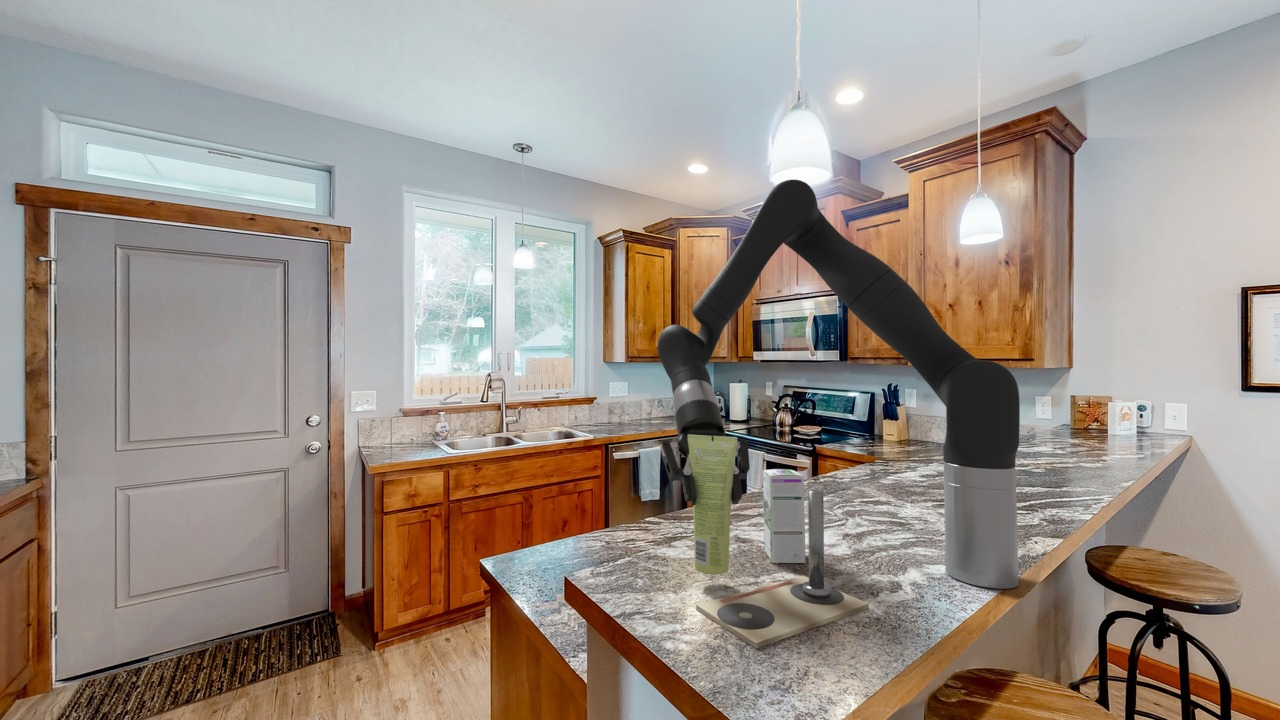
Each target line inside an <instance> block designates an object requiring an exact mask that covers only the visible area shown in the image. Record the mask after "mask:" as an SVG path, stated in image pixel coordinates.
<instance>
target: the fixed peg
mask: <svg viewBox="0 0 1280 720" xmlns="http://www.w3.org/2000/svg"><path fill="white" fill-rule="evenodd" d="M807 493H808V495H807V496H808V497H807V500H808V501H807V502H808V505H807V506H808V508H807V509H808V510H807V511H808V513H807V514H808V519H807V520H808V524H807V526H808V578H809V581H807V582H804V583H803V593H804V594H805V595H806V596H808V597H810V598H814V599H828V598H830V596H831V588H832V587H831V586H830V585H829V584H827V583H825V529H824V528H825V522H824V521H825V520H824V519H825V515H824V512H825V511H824V509H825V508H824V505H825V504H824V502H825V501H824V491H823V490H821V489H816V488H815V489H812V488H811V489H808V491H807ZM830 587H831V588H830Z"/></svg>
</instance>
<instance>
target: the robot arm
mask: <svg viewBox="0 0 1280 720" xmlns="http://www.w3.org/2000/svg"><path fill="white" fill-rule="evenodd" d="M783 244H784V245H785V246H787V247H788V248H789V249H790V250H792V251H793V252H795V253H796V254H797V255H799V256H800V258H802V259H803V260H804V261H805V262H807V263H808V264H809V265H810V266H811V267H812V269H814V270H815V271H816V273H817V274H818V276H820V278H821V279H822V280H823V282H824V283H825V284H826V285H827V286H828V287H829V289H830V290H831V291H832V292H833V294H835V296H836V297H837V298H838V299H839V300H840V301H841V302H842V303H843V304H844V306H845V307H847V309H848V310H850V311H851V313H852V314H854V316H856V317H857V319H859V321H861V322H862V323H863V324H864V325H865V326H866V327H867V328H868V329H870V331H871V332H873V333H874V334H875V335H876V336H877V337H878V338H879V339H881V341H883V342H885V344H886V345H888V346H889V347H890V348H891V349H893V350H894V351H895V352H897V353H898V354H899V355H900V356H901V357H903V358H904V359H905V360H906V361H907V362H908V363H909V364H910V365H911V366H912V367H913V368H914V369H915V370H916V372H917V373H918V374H919V375H920V376H921V377H922V379H923V380H924V381H925V382H926V383H927V384H928V386H929V387H930V388H931V389H932V391H933V392H934V393H935V395H936V396H937V397H938V398H939V400H940V401H941V402H942V404H943V405H944V406H945V407H946V408H945V409H946V410H945V411H946V412H945V413H946V414H945V415H946V416H945V417H946V418H945V419H946V429H945V430H946V434H945V439H944V443H943V449H942V452H943V453H942V454H943V455H942V457H943V460H942V461H943V495H944V496H943V497H944V498H943V499H944V500H943V501H944V502H943V503H944V504H943V505H944V549H945V550H944V551H945V552H944V556H945V559H944V560H945V563H944V564H945V572H946V574H947V575H949V576H950V577H951V578H954V579H956V580H959V581H961V582H964V583H966V584H969V585H970V584H971V585H974V586H978V587H984V588H990V589H999V590H1001V589H1002V590H1005V589H1013V588H1016V587H1018V586H1019V550H1018V549H1019V548H1018V514H1017V513H1018V510H1017V480H1016V479H1017V477H1016V474H1017V473H1016V456H1017V452H1018V449H1019V448H1020V447H1019V446H1020V423H1021V422H1020V419H1021V415H1020V407H1021V406H1020V401H1021V400H1020V391H1019V385H1018V382H1017V380H1016V378H1015V376H1014V375H1013V373H1012V372H1011V371H1010V370H1009V369H1008V368H1007V367H1005V366H1004V365H1002V364H1000V363H999V362H998V363H997V362H995V361H991V360H988V359H987V360H985V359H984V360H983V359H978V358H977V357H975V356H973V355H972V353H970V352H969V351H967V350H966V349H964V348H963V347H962V346H961V345H960V344H959V343H957V341H955V340H954V339H952V337H950V336H949V335H948V333H947V332H946V331H945V330H943V328H942V327H941V325H940V324H939V322H938V321H937V320H936V318H935V317H934V315H933V314H932V312H931V311H930V310H929V308H928V306H926V304H925V303H924V301H923V300H922V298H921V297H920V295H918V293H917V292H916V291H915V290H914V289H913V288H912V287H911V285H910V284H909V283H908V282H906V281H905V280H904V278H902V277H901V276H900V275H899V274H898V273H897V272H896V271H895V270H893V268H891V266H889V265H888V264H886V263H885V262H884V261H883V260H881V259H880V258H878V257H877V256H875V255H874V254H872V253H870V252H868V251H867V250H865V249H863V248H861V247H859V246H858V245H856V244H854V243H852V242H851V241H850V240H848V239H847V238H846V237H844V236H843V235H842V234H841V233H840V232H839V231H838V230H837V229H836V228H835V227H834V226H833V225H832V224H831V223H830V221H828V219H827V218H826V217H825V215H824V214H823V213H822V212H821V210H820V209H819V207H818V200H817V196H816V194H815V192H814V190H813V188H812V187H811V186H810V185H809V183H806V181H803V180H800V179H787V180H783V181H781V182H779V183H778V184H776V185H775V186H774V187H773V188H772V189H771V190H770V191H768V193H767V195H766V197H765V199H764V200H763V202H762V204H761V206H760V207H759V210H758V211H757V212H756V215H755V217H754V218H753V221H752V222H751V224H750V225H749V227H748V230H747V231H746V232H745V234H744V236H743V238H742V239H741V241H740V242H739V244H738V245H737V247H736V249H735V250H734V252H733V253H732V255H731V257H730V258H729V259H728V261H727V262H726V263H725V264H724V266H723V268H721V270H720V272H719V273H718V274H717V275H716V277H715V278H714V280H713V281H711V283H710V285H708V287H707V288H706V290H705V291H704V292H703V293H702V294H701V296H700V298H699V299H698V300H697V301H696V303H695V304H694V306H693V308H692V309H691V310H692V311H691V313H692V316H693V317H694V319H695V320H696V321H697V322H698V323H699V324H700V327H699V331H698V334H695V333H694V332H692V331H691V330H690V329H688V328H687V327H686V326H684V325H680V324H672V325H668V326H666V327H665V328H664V329H663V330H662V331H661V333H660V334H659V336H658V340H657V346H656V347H657V354H658V357H659V360H660V362H661V364H662V366H663V368H664V371H665V372H666V374H667V376H668V378H669V380H670V383H671V390H672V396H673V401H672V402H673V416H674V418H675V423H676V424H675V425H676V429H677V431H676V432H677V436H678V437H677V438H678V439H677V441H675V442H670V440H668V439H664V440H662V442H661V449H660V455H661V458H662V460H663V464H664V467H665V469H666V470H665V471H666V473H667V475H668V478H669V480H670V481H672V482H675V481H679V482H681V485H682V490H683V495H684V500H685V502H689V505H690V506H693V505H695V504H696V500H697V495H696V489H695V483H694V478H693V476H691V473H692V469H691V464H690V453H689V446H688V434H689V435H704V436H721V437H728V436H727V435H726V431H725V426H724V422H723V419H722V414H721V411H720V405H719V403H718V399H717V397H716V396H717V395H716V394H715V392H714V388H713V385H712V380H711V375H710V374H709V371H708V369H707V367H706V366H707V365H708V363H709V362H710V360H711V359H712V356H713V354H714V352H715V349H716V347H717V344H718V342H719V340H720V338H721V336H722V333H723V332H724V331H723V330H724V329H725V327H726V326H727V325H728V324H729V322H730V321H731V319H732V318H733V317H734V315H736V313H737V312H738V310H739V309H740V308H741V307H742V305H743V304H744V303H745V301H746V300H747V298H748V297H749V295H750V294H751V292H752V290H753V288H754V286H755V285H756V283H757V282H758V281H757V280H758V279H759V277H760V275H761V273H762V272H763V270H764V269H765V267H766V265H767V263H768V262H769V261H770V260H771V258H772V257H773V256H774V254H775V253H776V252H777V251H778V249H779V248H780V247H781V246H782V245H783ZM677 451H678V452H679V453H680V454H681V455H682V456H683V457H684V458H685V459H686V463H685V465H684V468H680V467H679V464H678V462H677V458H676V453H677ZM735 458H737V466H736V465H735V464H734V471H733V483H732V497H731V505H738V504H739V502H740V501H742V500H741V499H742V497H743V493H744V492H743V488H742V483H741V481H742V480H746V479H747V477H748V473H749V472H750V467H751V466H750V454H749V442H748V440H747V439H746V438H742V439H740V441H737V446H736V452H735Z"/></svg>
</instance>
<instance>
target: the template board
mask: <svg viewBox="0 0 1280 720" xmlns="http://www.w3.org/2000/svg"><path fill="white" fill-rule="evenodd" d="M807 581H809V576H804V575H798V576H796V577H792V578H789V579H785V580H780V581H778V582H774V583H770V584H766V585H764V586H759V587H755V588H752V589H749V590H745V591H741V592H738V593H734V594H731V595H726V596H723V597H719V598H716V599H712V600H708V601H704V602H701V603H697V604H695V609H696V611H698V612H700V613H701V614H703V615H704V616H705V617H707V618H708V619H710V620H712V621H713V622H715V623H716V624H718V625H719V626H721V627H722V628H724V629H726V630H727V631H729V632H730V633H732V634H733V635H734V636H736V637H737V638H739V639H740V640H742V641H744V642H745V643H747V644H749V646H751V647H753V648H754V649H758V648H762V647H764V646H767V645H770V644H773V643H776V642H778V641H779V642H780V641H781V640H783V639H787V638H789V637H792V636H796V635H798V634H801V633H804V632H806V631H810V630H812V629H815V628H817V627H820V626H823V625H826V624H829V623H831V622H834V621H837V620H840V619H843V618H846V617H849V616H851V615H853V614H857V613H859V612H862V611H864V610H865V611H866V610H868V609H869V608H870V606H869V602H866V601H863V600H861V599H859V598H856V597H854V596H852V595H849V594H847V593H845V592H843V591H840V590H837V589H835V588H834V587H832V586H830V588H831V596H830V598H828V599H814V598H810V597H808V596H806V595H805V594H804V593H803V583H804V582H807Z"/></svg>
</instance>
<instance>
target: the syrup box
mask: <svg viewBox="0 0 1280 720" xmlns="http://www.w3.org/2000/svg"><path fill="white" fill-rule="evenodd" d="M762 475H763V478H762V479H763V481H762V482H763V485H762V487H763V488H762V489H763V491H762V493H763V534H764V535H763V540H764V541H763V544H764V547H763V548H764V553H765V554H766V556H767V558H768V559H769V561H770V562H771V564H778V563H804V564H803V565H805V564H806V532H805V531H806V524H805V520H806V519H805V496H804V495H805V491H804V490H805V488H804V486H805V483H804V475H802V474H801V473H799V472H798V471H796V470H794V469H787V468H772V469H763V472H762Z"/></svg>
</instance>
